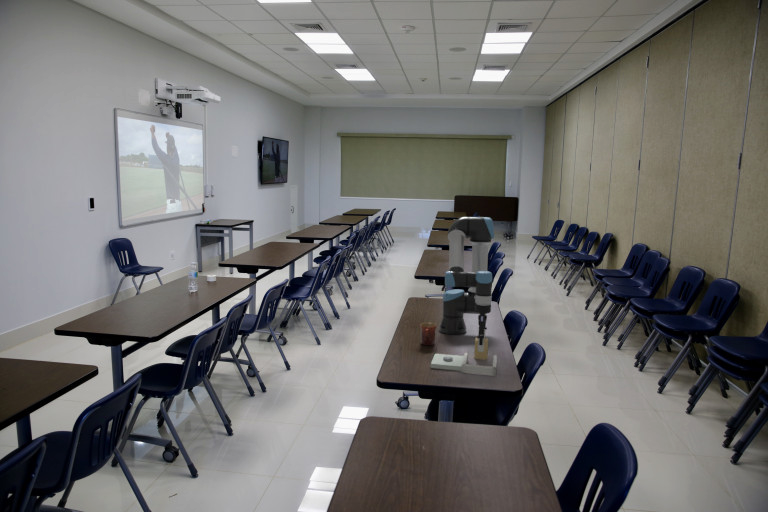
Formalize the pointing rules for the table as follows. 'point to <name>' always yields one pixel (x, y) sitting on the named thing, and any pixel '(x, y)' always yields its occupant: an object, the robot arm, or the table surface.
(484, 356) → the chute block
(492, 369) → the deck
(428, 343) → the mug
